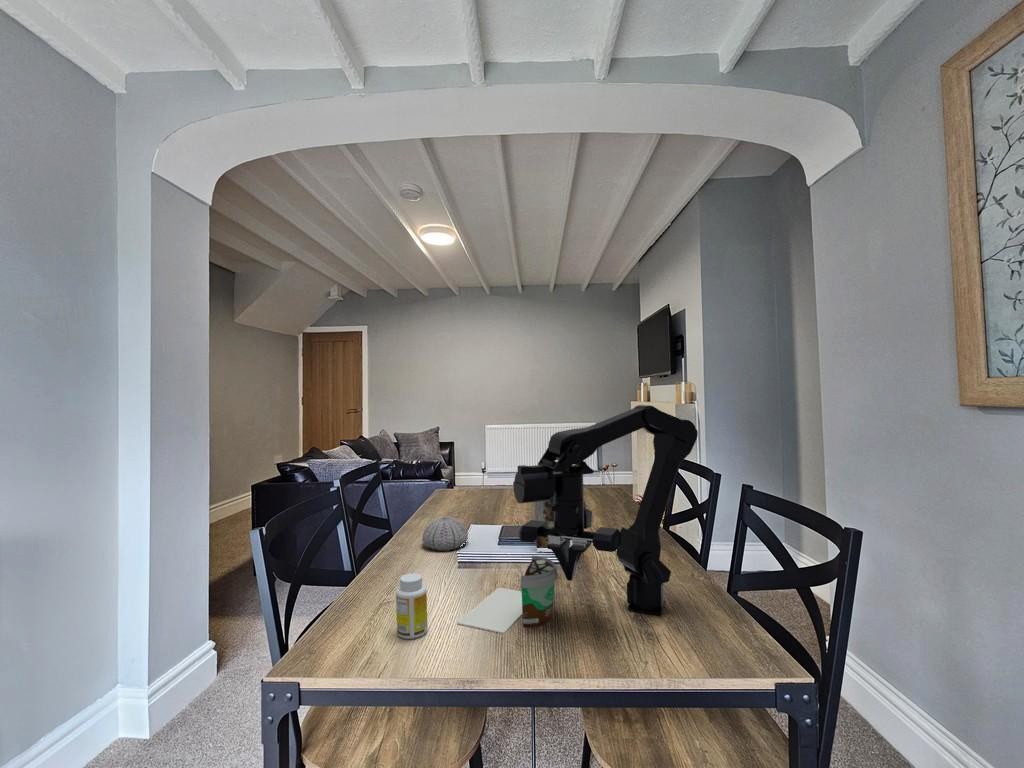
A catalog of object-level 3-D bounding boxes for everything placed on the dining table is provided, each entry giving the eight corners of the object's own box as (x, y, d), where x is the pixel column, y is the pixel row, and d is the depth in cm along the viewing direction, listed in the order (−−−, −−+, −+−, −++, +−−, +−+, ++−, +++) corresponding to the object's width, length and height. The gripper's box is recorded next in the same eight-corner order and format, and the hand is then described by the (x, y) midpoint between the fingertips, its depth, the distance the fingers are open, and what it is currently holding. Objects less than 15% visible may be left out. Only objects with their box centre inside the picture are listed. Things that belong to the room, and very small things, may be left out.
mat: (540, 595, 106) (540, 594, 106) (504, 634, 90) (504, 632, 90) (498, 588, 110) (498, 587, 110) (456, 624, 94) (456, 622, 94)
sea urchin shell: (452, 536, 152) (452, 510, 152) (477, 546, 141) (477, 518, 141) (413, 545, 143) (413, 517, 143) (437, 557, 133) (436, 527, 133)
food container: (554, 634, 90) (553, 578, 90) (521, 631, 91) (520, 576, 91) (562, 604, 102) (561, 556, 102) (533, 602, 103) (532, 554, 103)
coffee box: (569, 546, 139) (568, 489, 140) (569, 553, 133) (567, 493, 133) (537, 545, 141) (536, 488, 141) (535, 552, 134) (534, 493, 134)
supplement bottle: (428, 624, 94) (427, 570, 94) (426, 639, 89) (425, 582, 89) (398, 626, 94) (397, 572, 94) (394, 641, 88) (393, 584, 88)
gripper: (626, 493, 98) (628, 572, 97) (538, 487, 105) (540, 560, 105) (613, 505, 88) (615, 593, 87) (517, 497, 95) (519, 578, 95)
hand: (570, 580), depth 94 cm, fingers closed
